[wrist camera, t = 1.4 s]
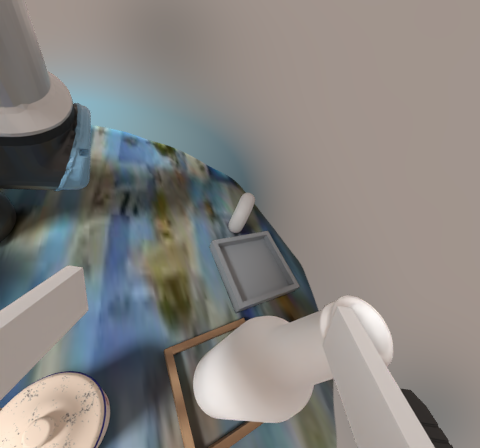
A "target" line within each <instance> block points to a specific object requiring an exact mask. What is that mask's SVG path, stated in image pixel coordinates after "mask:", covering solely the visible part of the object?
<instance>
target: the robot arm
mask: <svg viewBox="0 0 480 448" xmlns="http://www.w3.org/2000/svg"><path fill="white" fill-rule="evenodd" d="M90 117H91V115H90V111H89V109H88V108H87V107H85V106H82V105H80V104H79V103H74V104H73V101H72V98H71V95H70V92H69V90H68V89H67V87H66V86H65V85H64V84H63V82H62V81H60V80H59V79H58V78H57V77H56V76H54V75H53V74H52V73H50V72H48V71H47V69H46V66H45V62H44V59H43V56H42V53H41V50H40V47H39V43H38V40H37V37H36V34H35V31H34V28H33V25H32V21H31V18H30V15H29V12H28V9H27V6H26V2H25V0H0V188H3V189H31V190H54V191H60V190H78V189H82V188H84V187H86V186H87V185H88V183H89V179H90V135H91V124H90V123H91V118H90ZM15 222H16V211H15V209H14V207H13V205H12V204H11V202H10V200H9V199H8V198H7V197H6V195H5V194H3V193H2V192H1V191H0V242H1V241H2V240H3V239H4V238H5V237H6V236H7V235H8V234H9V233H10V232H11V230H12V229H13V227H14V225H15ZM87 311H88V303H87V295H86V288H85V280H84V273H83V268H82V267H75V266H69V265H68V266H66V267H65V268H63V269H62V270H60V271H59V272H57V273H56V274H54V275H53V276H51V277H50V278H48V279H47V280H45V281H44V282H42V283H41V284H39V285H38V286H36V287H35V288H34V289H32V290H31V291H29V292H28V293H26V294H25V295H23V296H22V297H20V298H19V299H17V300H16V301H14V302H13V303H11V304H10V305H8V306H7V307H5V308H4V309H2V310H1V311H0V400H1V399H2V398H3V397H4V396H5V395H6V394H7V393H8V392H9V391H10V390H11V389H12V388H13V387H14V386H15V385H16V384H17V383H18V382H19V381H20V380H21V379H22V378H23V377H24V376H25V375H26V374H27V373H28V372H29V371H30V370H31V369H32V368H33V366H34V365H35V364H36V363H37V362H38V361H39V360H40V359H41V358H42V357H43V356H44V355H45V354H46V353H47V352H48V351H49V350H50V349H51V348H52V347H53V346H54V345H55V344H56V343H57V342H58V341H59V340H60V339H61V338H62V337H63V336H64V335H65V334H66V333H67V332H68V331H69V330H70V329H71V327H72V326H73V325H74V324H75V323H76V322H77V321H78V320H79V319H80V318H81V317H82V316H83V315H84V314H85V313H86V312H87ZM322 346H323V349H324V352H325V354H326V357H327V360H328V363H329V366H330V369H331V372H332V375H333V378H334V381H335V384H336V387H337V390H338V392H339V395H340V398H341V401H342V404H343V407H344V410H345V413H346V416H347V419H348V422H349V425H350V428H351V431H352V434H353V436H354V439H355V442H356V445H357V448H453V447H452V445H450V444H449V442H448V439H447V437H446V436H445V435H444V433H443V431H442V430H441V429H440V428H439V427H438V424H437V422H436V421H435V419H434V418H433V416H432V415H431V413H430V411H429V410H428V409H427V407H426V406H425V405H424V404H423V403H422V401H421V400H420V399H418V398H417V396H416V395H415V394H414V393H413V392H412V391H411V390H406V389H400V388H399V386H398V385H397V383H396V381H395V380H394V378H393V376H392V375H391V373H390V371H389V370H388V368H387V366H386V365H385V363H384V361H383V360H382V358H381V356H380V355H379V353H378V351H377V349H376V348H375V346H374V344H373V343H372V341H371V339H370V338H369V336H368V334H367V333H366V331H365V329H364V328H363V326H362V324H361V323H360V321H359V319H358V318H357V316H356V314H355V313H354V311H353V309H352V308H349V307H342V306H337V307H336V309H335V312H334V315H333V318H332V320H331V323H330V326H329V328H328V331H327V334H326V337H325V339H324V342H323V345H322Z"/></svg>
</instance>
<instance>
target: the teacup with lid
mask: <svg viewBox="0 0 480 448" xmlns="http://www.w3.org/2000/svg"><path fill="white" fill-rule="evenodd" d="M109 419H110V404H109V400H108V397H107V395H106V393H105V392H104V391H103V390H102V388H101V387H100V385H99V384H98V383H97V382H96V380H94V379H93V378H92V377H90V376H89V375H86V374H84V373H81V372H74V371H67V372H60V373H55V374H52V375H49V376H46V377H44V378H42V379H40V380H38V381H36V382H34V383H32V384H31V385H29V386H28V387H26V388H25V389H23V390H22V391H21V392H19V393H18V394H17V395H16V396H15V397H14V398H13V399H12V400H10V401H9V402H8V403H7V404H6V406H5V407H4V408H0V448H98V447H99V445H100V444H101V442H102V440H103V438H104V436H105V433H106V430H107V427H108V424H109Z"/></svg>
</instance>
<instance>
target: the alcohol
mask: <svg viewBox="0 0 480 448" xmlns="http://www.w3.org/2000/svg"><path fill="white" fill-rule="evenodd" d="M337 306H342V307H349V308H352V309H353V311H354V313H355V314H356V316H357V318H358V319H359V321H360V323H361V324H362V326H363V328H364V329H365V331H366V333H367V334H368V336H369V338H370V339H371V341H372V343H373V344H374V346H375V348H376V349H377V351H378V353H379V355H380V356H381V358H382V360H383V361H384V363H385V365H386V366H389V364H390V363H391V361H392V358H393V351H394V349H393V341H392V336H391V333H390V330H389V328H388V326H387V324H386V322H385V321H384V319H383V318H382V316H381V315H380V314H379V313H378V311H377V310H375V309H374V308H373V307H372V306H371V305H370V304H368V303H367V302H366V301H364V300H362V299H361V298H358V297H355V296H351V295H345V296H343V297H340V298H339V299H337V300H336V301H334V302H332V303H329V304H327V305H326V306H325V307H324V308H323V309H322V310H320V311H318V312H315V313H313V314H310V315H308V316H305V317H303V318H300V319H297V320H295V321H292V322H290V323H289V322H287V321H286V320H284V319H282V318H279V317H276V316H261V317H255V318H252V319H249V320H248V321H246V322H244V323H243V324H242V325H240V326H239V327H238V328H237V329H236V330H234V331H233V332H232V333H231V334H229V335H228V336H227V337H226V338H225V339H223V340H222V341H221V342H220V343H218V344H217V345H216V346H215V347H214V348H212V349H211V350H210V351H209V352H207V353H206V354H205V355H204V356H203V357H202V359H201V360H200V361H199V363H198V365H197V367H196V370H195V374H194V380H193V390H194V395H195V398H196V401H197V403H198V405H199V406H200V408H201V409H202V410H203V411H204V412H205V413H206V414H207V415H209V416H211V417H213V418H217V419H227V420H240V421H253V422H265V423H279V422H282V421H286V420H288V419H289V418H291V417H292V416H294V415H295V414H297V413H298V412H300V411H301V410H302V409H303V408H304V407H305V405H306V404H307V402H308V401H309V399H310V397H311V394H312V391H313V388H314V385H315V384H318V383H321V382H324V381H327V380H330V379H333V375H332V372H331V369H330V366H329V363H328V360H327V357H326V354H325V352H324V349H323V346H322V345H323V342H324V339H325V337H326V334H327V331H328V328H329V326H330V323H331V320H332V318H333V315H334V312H335V309H336V307H337Z"/></svg>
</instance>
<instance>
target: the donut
mask: <svg viewBox="0 0 480 448" xmlns="http://www.w3.org/2000/svg"><path fill="white" fill-rule="evenodd" d="M254 203H255V198H254V196H253V195H252V194H250V193H245V194H243V195H242V197H241V198H240V200H239V203H238V205H237V207H236V209H235V211H234V213H233V216H232V218H231V220H230V222H229V230H230V231H231V232H233V233H239V232H240V231H241V230H242V229H243V227H244V225H245V223H246V221H247V219H248V217H249V215H250V213H251V211H252V208H253V206H254Z"/></svg>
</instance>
